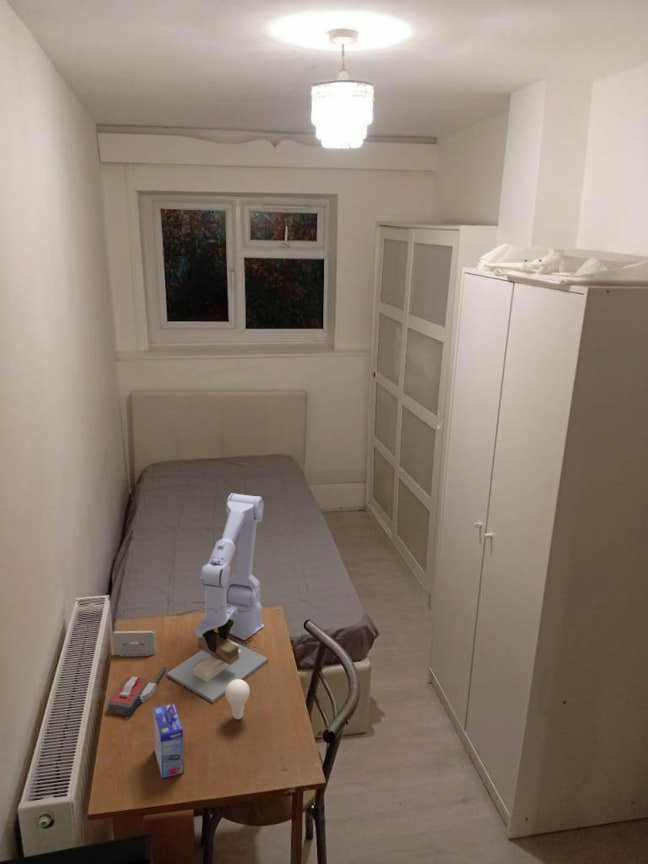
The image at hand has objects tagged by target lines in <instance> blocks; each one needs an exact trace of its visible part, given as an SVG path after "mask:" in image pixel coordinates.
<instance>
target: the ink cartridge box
mask: <svg viewBox="0 0 648 864" xmlns="http://www.w3.org/2000/svg"><path fill="white" fill-rule="evenodd" d="M152 711H153V715H152V716H153V741H154V753H155V757H156V760H157V765H158V770H159V773H160V777H161V779H164V778H168V777H173V776H178V775H181V774H185V759H184V758H185V756H184V755H185V754H184V729H183V725H182V723H181V719H180V716H179V712H178V710H177V707H176V703H169V704H165V705H160V706H157V707H153V709H152Z"/></svg>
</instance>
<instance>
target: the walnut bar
mask: <svg viewBox="0 0 648 864" xmlns="http://www.w3.org/2000/svg"><path fill="white" fill-rule="evenodd" d="M198 649H199V650H200V651H201V650H203V651H205V652H207V653H208V654H210V655H212V656H214V657H216V658H218V659H220V660H221V661H223V662H225V663H227V664H229V665H231V664H232V663H233V662H235V661H236V660H238V659H239V649H238V646H237V645H235V644H233V643H231V642H229V641H227V640H225V639H223V638H221V637H219V636H218V637H217V641H216V651H215V652H212V651H210V650H209V648H208V645H207V642H206V640H205V638H204V637H203V635H202V637H201V638H199V637H198Z"/></svg>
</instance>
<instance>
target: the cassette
mask: <svg viewBox="0 0 648 864" xmlns="http://www.w3.org/2000/svg"><path fill="white" fill-rule="evenodd" d="M155 634H156V633H155V631H154V630H129V631H128V630H127V631H126V630H125V631H123V630H121V631H120V630H119V631H117V630H116V631H115V630H114V631H113V632H112V634H111V638H112V649H113V656H114V655H120V656H119V657H148V656H155V655H156V654H157V650H156V637H155Z"/></svg>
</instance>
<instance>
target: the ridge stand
mask: <svg viewBox="0 0 648 864" xmlns="http://www.w3.org/2000/svg"><path fill="white" fill-rule="evenodd" d="M227 641H229V642H231V643H233V644H235V645H237V646H238V649H239V659H238V660H236V661H235V662H233V663H232V664H231V665H229V664H227V663H225V662H223V661H221V660H220V659H218V658H216V657H214V656H212V655H210V654H208V653H207V652H205V651H203V650H201V649H200V651H198V652H197V653H195V654H194V655H192V656H191V657H189V658H188V659H186V660H185V661H183V662H181V663H180V664H178V665H177V666H176V667H173V669H171V670H170V671H168V672H167V673H166V677H168V678H169V677H170V678H169V679H171V680H172V679H173V680H172V681H174V680H175V682H176V683H177V684H180V685H181V686H183V687H184V686H185V688H186V689H188V690H189V691H191V690H192V691H191V692H193V693H195V694H197V695H198V696H200V697H202V698H204V699H206V701H208V702H210V703H211V704H214V703H216V702H217V701H218V700H219V699H221V698H223V697H224V696H226V695H225V690H226V687H227V685H228V684H229V683H230V682H231V681H233V680H235V679H241V680H243V681H245V680H246V679H247V678H248V677H249V676H251V675H253V673H255V672H256V671H258V669H260V668H261V667H262V666H264V665H265V664H267V663H268V662H269V658H268V657H266V656H264V655H262V654H260V653H258V652H256V651H254V650H253V649H250V648H249V647H247V646H244V645H242V644H240V643H238V642H236V641H234V640H232V639H230V638H229V637H228V638H227Z"/></svg>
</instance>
